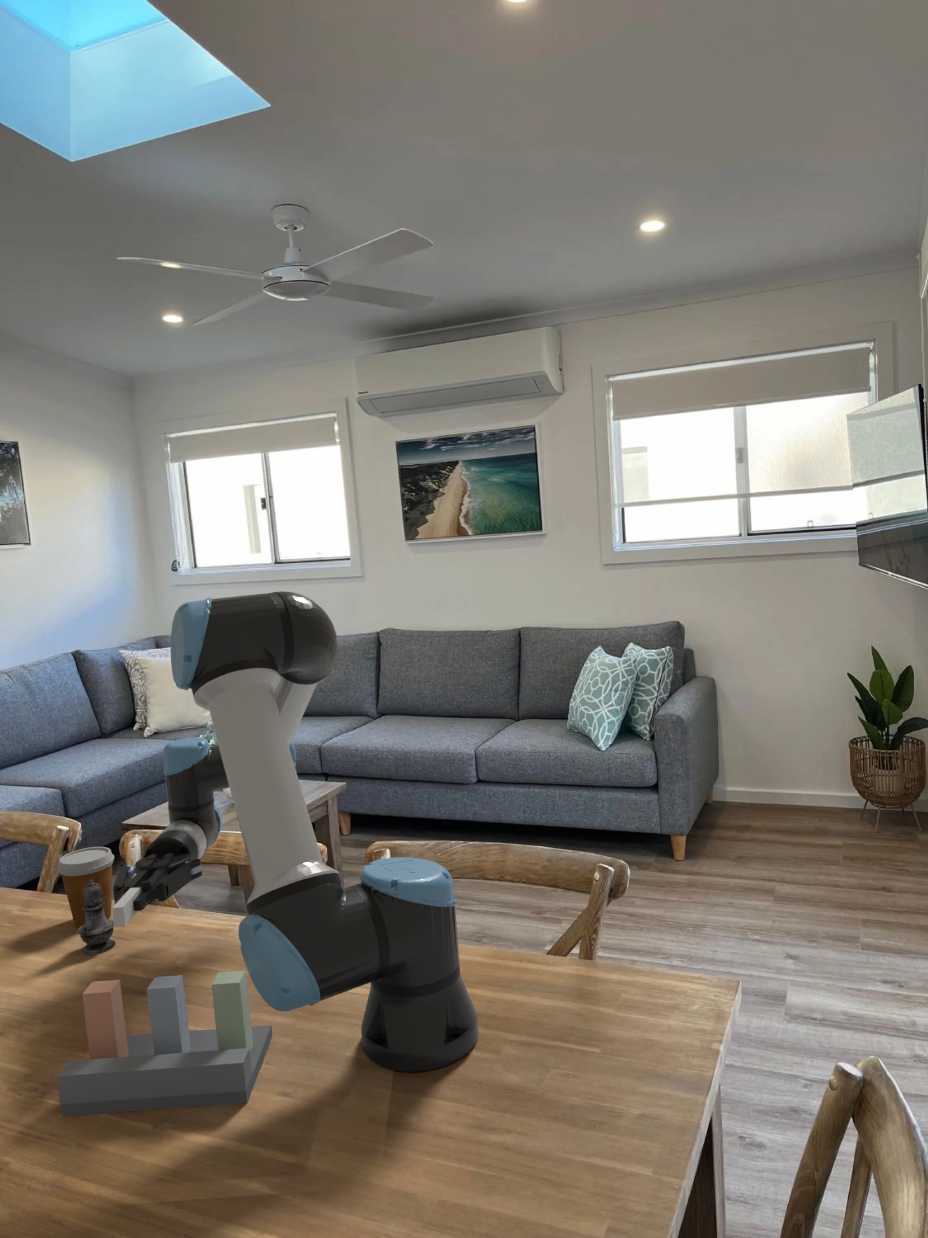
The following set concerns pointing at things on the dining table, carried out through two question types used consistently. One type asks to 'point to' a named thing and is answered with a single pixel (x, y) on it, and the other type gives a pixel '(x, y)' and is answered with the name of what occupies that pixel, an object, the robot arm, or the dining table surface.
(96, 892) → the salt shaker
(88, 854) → the disposable coffee cup
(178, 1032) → the blue-grey upright block
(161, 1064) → the dark grey block holder
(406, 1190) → the dining table surface
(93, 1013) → the salmon pink block
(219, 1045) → the green rectangular block
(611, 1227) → the dining table surface
